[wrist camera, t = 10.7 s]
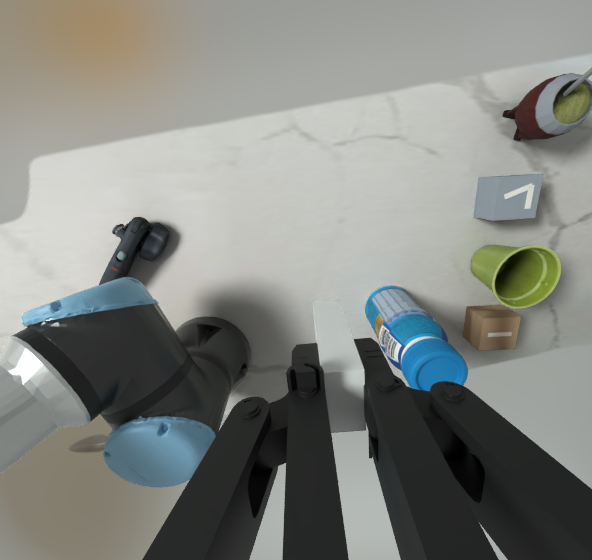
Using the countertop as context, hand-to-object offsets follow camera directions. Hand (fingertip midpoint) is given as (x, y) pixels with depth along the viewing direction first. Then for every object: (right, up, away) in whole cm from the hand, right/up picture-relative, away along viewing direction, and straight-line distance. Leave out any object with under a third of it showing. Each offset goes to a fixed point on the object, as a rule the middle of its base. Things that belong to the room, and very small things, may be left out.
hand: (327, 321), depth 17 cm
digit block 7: (+30, +16, +29) cm, 44 cm away
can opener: (-30, +6, +33) cm, 45 cm away
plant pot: (+31, +5, +32) cm, 45 cm away
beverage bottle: (+14, -2, +35) cm, 38 cm away
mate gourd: (+31, +27, +25) cm, 48 cm away
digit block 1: (+32, -5, +36) cm, 48 cm away
